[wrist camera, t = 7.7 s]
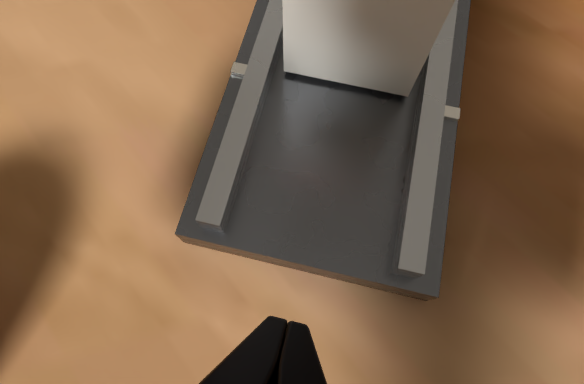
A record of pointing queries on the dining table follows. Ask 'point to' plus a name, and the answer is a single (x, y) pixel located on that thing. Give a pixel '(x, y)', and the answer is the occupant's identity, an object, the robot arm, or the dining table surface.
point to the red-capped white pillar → (362, 40)
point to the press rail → (331, 166)
